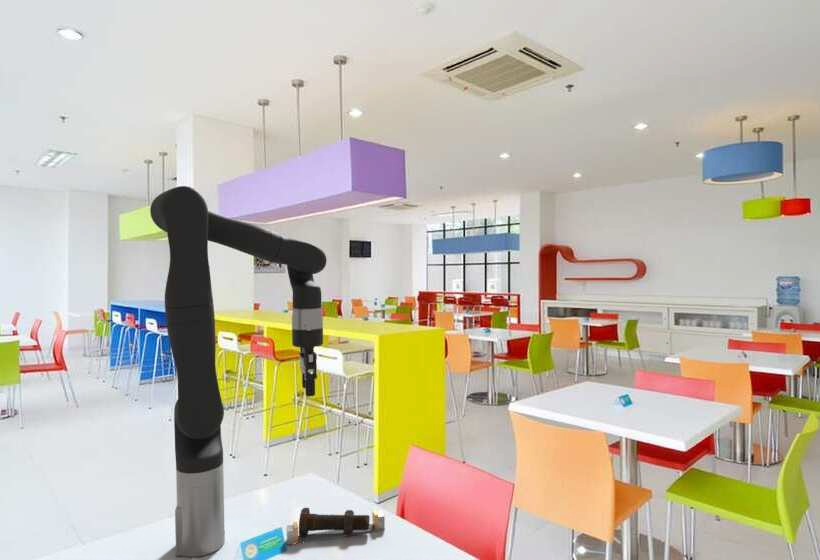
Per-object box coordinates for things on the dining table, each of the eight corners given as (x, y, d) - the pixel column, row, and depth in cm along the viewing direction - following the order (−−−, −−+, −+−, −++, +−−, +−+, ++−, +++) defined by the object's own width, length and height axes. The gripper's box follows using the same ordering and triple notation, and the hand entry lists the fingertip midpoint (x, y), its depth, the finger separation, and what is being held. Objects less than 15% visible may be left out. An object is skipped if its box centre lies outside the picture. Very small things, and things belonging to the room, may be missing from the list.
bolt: (368, 541, 110) (299, 541, 110) (369, 520, 115) (303, 519, 114) (368, 525, 107) (297, 524, 107) (369, 504, 112) (301, 503, 111)
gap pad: (298, 544, 107) (298, 542, 107) (297, 537, 110) (297, 536, 110) (374, 531, 112) (374, 529, 112) (371, 525, 114) (371, 523, 114)
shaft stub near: (287, 545, 106) (287, 529, 106) (286, 539, 109) (286, 523, 109) (298, 543, 107) (297, 527, 107) (297, 537, 109) (296, 521, 109)
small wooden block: (375, 530, 112) (374, 515, 112) (372, 525, 114) (372, 510, 114) (384, 529, 113) (384, 513, 113) (381, 523, 115) (381, 508, 115)
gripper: (290, 324, 130) (290, 386, 130) (294, 330, 116) (295, 400, 117) (319, 323, 132) (320, 384, 133) (326, 328, 119) (327, 397, 119)
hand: (308, 391), depth 125 cm, fingers open, 8 cm apart
